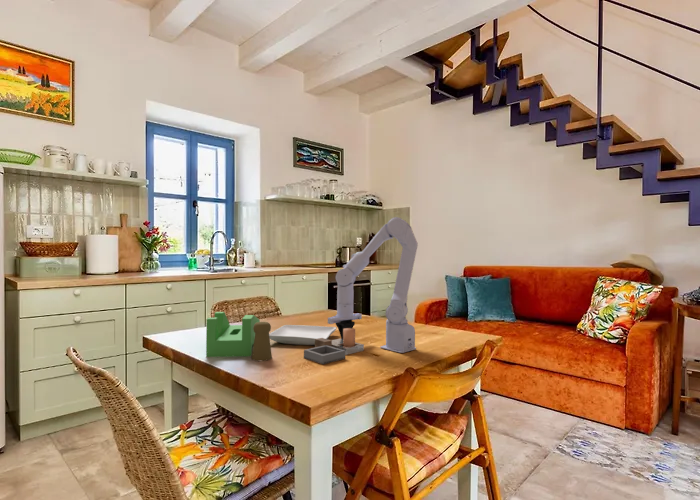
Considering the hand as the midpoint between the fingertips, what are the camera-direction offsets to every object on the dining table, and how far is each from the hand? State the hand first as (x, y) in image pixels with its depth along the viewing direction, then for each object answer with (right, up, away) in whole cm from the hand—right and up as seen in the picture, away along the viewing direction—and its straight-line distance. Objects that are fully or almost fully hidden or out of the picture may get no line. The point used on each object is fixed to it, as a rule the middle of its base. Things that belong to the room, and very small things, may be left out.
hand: (344, 341), depth 140 cm
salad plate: (-15, -1, +6) cm, 17 cm away
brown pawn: (-25, -1, -18) cm, 31 cm away
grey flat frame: (0, -1, -6) cm, 7 cm away
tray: (-6, -1, -18) cm, 19 cm away
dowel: (+2, -1, -8) cm, 8 cm away
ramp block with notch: (-37, -1, -5) cm, 37 cm away
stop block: (-7, -1, -8) cm, 11 cm away
